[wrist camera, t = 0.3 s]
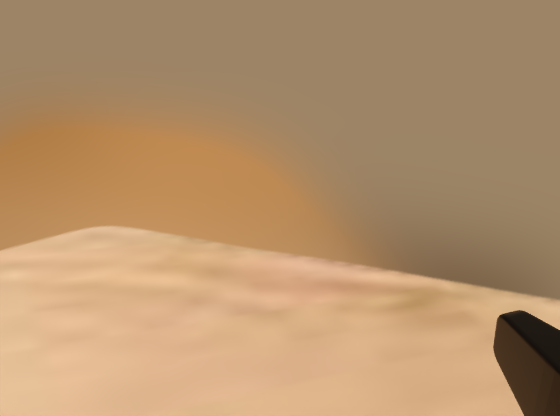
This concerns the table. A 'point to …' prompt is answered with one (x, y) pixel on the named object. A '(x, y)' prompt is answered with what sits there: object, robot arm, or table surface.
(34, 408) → the table surface
